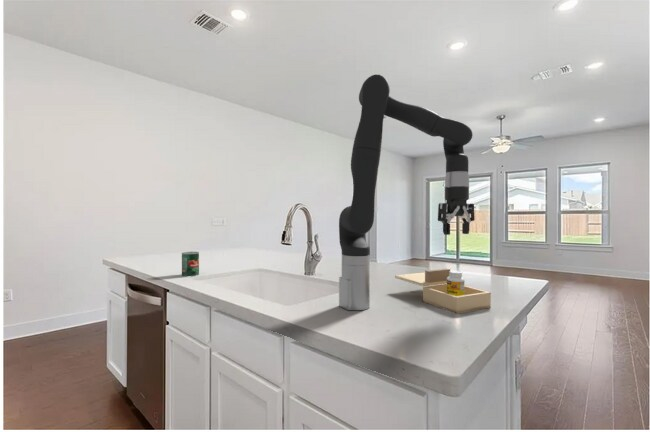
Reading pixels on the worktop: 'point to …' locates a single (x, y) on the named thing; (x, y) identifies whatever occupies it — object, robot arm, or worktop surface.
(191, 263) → the canned tomato
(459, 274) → the supplement bottle
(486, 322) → the worktop surface
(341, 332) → the worktop surface
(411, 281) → the lid
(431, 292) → the box
